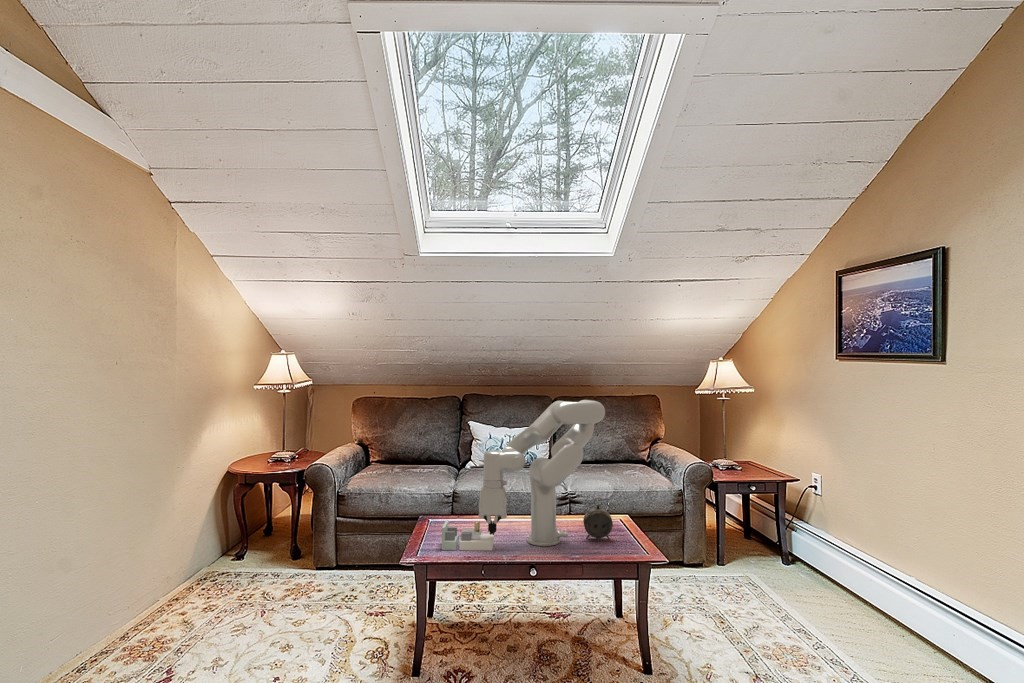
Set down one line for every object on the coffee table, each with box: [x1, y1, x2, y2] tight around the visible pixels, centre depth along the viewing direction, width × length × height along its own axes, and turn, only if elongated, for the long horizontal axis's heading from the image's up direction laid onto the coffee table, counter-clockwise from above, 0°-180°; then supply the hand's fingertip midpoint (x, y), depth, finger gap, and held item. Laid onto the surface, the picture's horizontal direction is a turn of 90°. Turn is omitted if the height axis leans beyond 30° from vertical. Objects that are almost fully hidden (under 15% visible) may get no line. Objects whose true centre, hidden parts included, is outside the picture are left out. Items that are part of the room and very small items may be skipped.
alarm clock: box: [583, 497, 614, 542], centre depth 216 cm, size 11×5×16 cm, turn 87°
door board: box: [458, 527, 495, 551], centre depth 209 cm, size 12×10×6 cm
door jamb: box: [441, 520, 460, 551], centre depth 210 cm, size 5×10×8 cm, turn 178°
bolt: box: [461, 521, 482, 539], centre depth 209 cm, size 7×4×6 cm, turn 88°
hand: (492, 533), depth 209 cm, fingers closed
